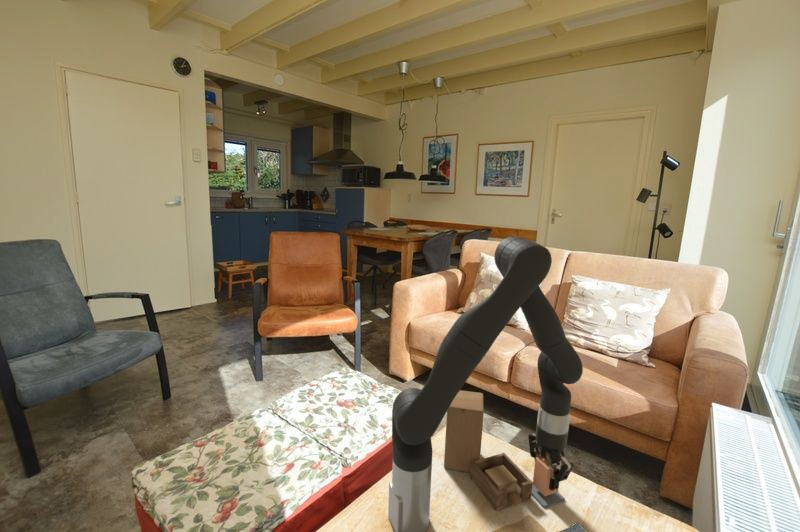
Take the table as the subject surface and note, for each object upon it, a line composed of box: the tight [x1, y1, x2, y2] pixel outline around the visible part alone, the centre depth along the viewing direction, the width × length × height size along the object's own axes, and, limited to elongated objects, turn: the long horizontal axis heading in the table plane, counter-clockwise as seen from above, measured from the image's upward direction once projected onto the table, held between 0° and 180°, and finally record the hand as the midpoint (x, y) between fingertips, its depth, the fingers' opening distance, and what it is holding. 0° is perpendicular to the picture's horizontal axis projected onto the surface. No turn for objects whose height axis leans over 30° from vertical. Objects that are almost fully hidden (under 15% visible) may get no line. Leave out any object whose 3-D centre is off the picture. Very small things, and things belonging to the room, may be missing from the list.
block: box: [532, 457, 560, 496], centre depth 100 cm, size 4×4×8 cm
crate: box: [470, 452, 533, 512], centre depth 102 cm, size 11×12×5 cm
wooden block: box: [443, 389, 485, 474], centre depth 111 cm, size 10×10×20 cm
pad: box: [531, 485, 566, 509], centre depth 101 cm, size 7×7×1 cm
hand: (545, 481), depth 100 cm, fingers closed on block, 4 cm apart
